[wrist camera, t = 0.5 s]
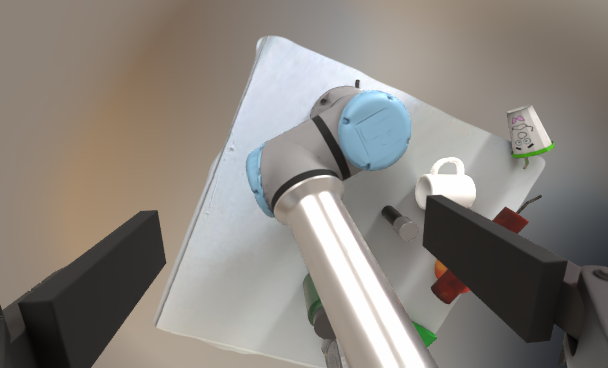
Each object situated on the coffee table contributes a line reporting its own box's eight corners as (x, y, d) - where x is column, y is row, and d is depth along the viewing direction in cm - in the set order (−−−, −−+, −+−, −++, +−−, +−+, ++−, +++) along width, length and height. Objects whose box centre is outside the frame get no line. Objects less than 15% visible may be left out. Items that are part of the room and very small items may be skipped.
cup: (533, 107, 59) (555, 174, 61) (546, 97, 63) (566, 161, 65) (492, 119, 66) (513, 179, 68) (506, 109, 70) (525, 166, 72)
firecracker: (448, 307, 64) (553, 200, 55) (429, 290, 66) (526, 184, 58) (450, 300, 68) (547, 199, 60) (432, 284, 70) (523, 185, 62)
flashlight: (380, 204, 70) (399, 223, 59) (396, 203, 70) (418, 221, 59) (380, 220, 71) (399, 241, 60) (395, 218, 71) (418, 239, 60)
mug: (451, 203, 72) (472, 214, 64) (412, 202, 71) (429, 214, 63) (459, 154, 69) (482, 161, 61) (419, 154, 67) (438, 160, 60)
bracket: (434, 334, 80) (445, 356, 73) (416, 351, 82) (424, 374, 76) (400, 314, 78) (408, 336, 71) (382, 332, 80) (388, 355, 74)
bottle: (302, 270, 72) (308, 309, 59) (337, 266, 73) (352, 304, 59) (304, 300, 75) (310, 345, 61) (338, 296, 76) (352, 340, 62)
